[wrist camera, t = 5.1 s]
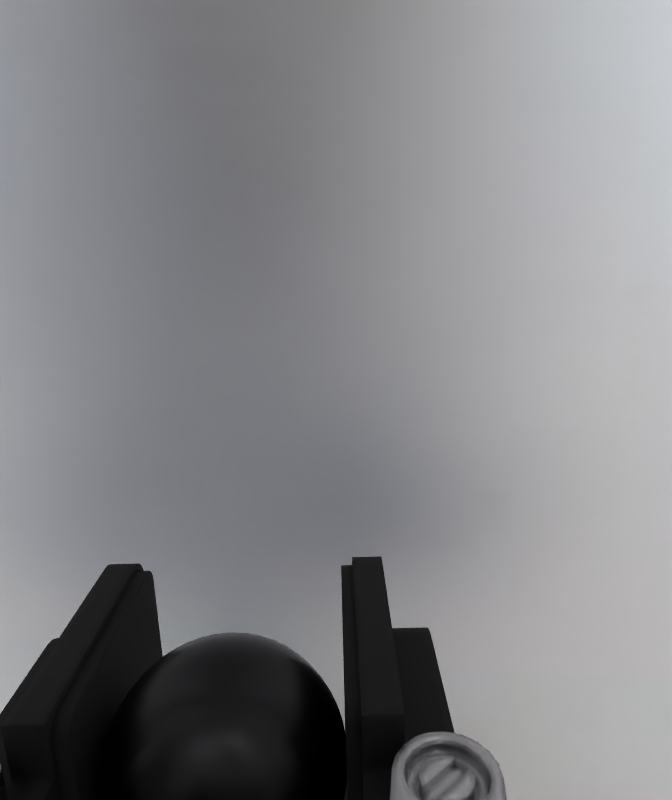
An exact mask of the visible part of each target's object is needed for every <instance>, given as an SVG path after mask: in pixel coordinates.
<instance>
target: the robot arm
mask: <svg viewBox="0 0 672 800" xmlns="http://www.w3.org/2000/svg"><path fill="white" fill-rule="evenodd" d="M341 576H342V616H343V656H344V695H345V732H346V765H347V799H348V800H507V799H506V792H505V785H504V778H503V775H502V772H501V769H500V766H499V764H498V762H497V761H496V760H495V758H494V757H493V756H492V754H491V753H490V752H489V751H488V750H487V749H486V748H484V747H483V746H482V745H480V744H479V743H478V742H477V741H474V740H472V739H470V738H468V737H466V736H463V735H461V734H455V733H454V729H453V725H452V721H451V717H450V713H449V709H448V704H447V700H446V696H445V692H444V688H443V684H442V679H441V675H440V671H439V667H438V663H437V659H436V655H435V650H434V646H433V642H432V638H431V634H430V631H429V629H428V628H392V625H391V618H390V612H389V605H388V598H387V591H386V584H385V578H384V571H383V564H382V558H381V557H352V565H343V566H341ZM161 658H162V648H161V640H160V631H159V623H158V614H157V606H156V597H155V589H154V580H153V575H152V572H151V571H143V568H142V566H141V565H140V564H110V565H108V566H107V567H106V568H105V569H104V571H103V572H102V574H101V575H100V577H99V578H98V580H97V581H96V583H95V585H94V586H93V588H92V589H91V591H90V592H89V594H88V595H87V597H86V598H85V600H84V601H83V603H82V604H81V606H80V607H79V609H78V610H77V612H76V613H75V615H74V616H73V618H72V619H71V621H70V622H69V624H68V625H67V627H66V628H65V630H64V631H63V633H62V634H61V636H60V637H59V638H56V639H53V640H52V641H51V642H50V643H49V644H48V645H47V646H46V648H45V649H44V651H43V652H42V654H41V655H40V657H39V658H38V660H37V661H36V662H35V664H34V665H33V667H32V668H31V670H30V671H29V673H28V674H27V676H26V677H25V679H24V680H23V682H22V683H21V685H20V686H19V687H18V689H17V690H16V692H15V693H14V695H13V696H12V698H11V699H10V701H9V702H8V704H7V705H6V707H5V708H4V709H3V711H2V712H1V714H0V800H99V787H98V785H99V773H100V761H101V756H102V751H103V747H104V743H105V740H106V737H107V734H108V731H109V728H110V725H111V723H112V721H113V719H114V716H115V714H116V712H117V710H118V708H119V706H120V704H121V703H122V701H123V700H124V698H125V697H126V695H127V693H128V692H129V691H130V689H131V688H132V687H133V686H134V684H135V683H136V682H137V681H138V680H139V678H140V677H141V676H142V675H143V674H144V673H145V672H146V671H147V670H148V669H149V668H150V667H151V666H152V665H153V664H154V663H155V662H157V661H158V660H159V659H161Z"/></svg>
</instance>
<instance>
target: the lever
mask: <svg viewBox="0 0 672 800" xmlns="http://www.w3.org/2000/svg"><path fill="white" fill-rule="evenodd" d="M346 785H347V765H346V734H345V730H344V725H343V720H342V717H341V714H340V711H339V709H338V706H337V703H336V701H335V699H334V697H333V695H332V693H331V691H330V690H329V688H328V687H327V685H326V684H325V682H324V681H323V679H322V678H321V676H320V675H319V674H318V673H317V672H316V671H315V669H314V668H313V667H312V666H311V665H310V664H309V663H308V662H307V661H306V660H305V659H304V658H302V657H301V656H300V655H299V654H298V653H296V652H295V651H293V650H292V649H290V648H288V647H287V646H285V645H283V644H281V643H279V642H277V641H275V640H272V639H269V638H266V637H263V636H259V635H254V634H248V633H222V634H214V635H209V636H205V637H201V638H198V639H195V640H193V641H190V642H188V643H185V644H183V645H182V646H180V647H178V648H176V649H174V650H172V651H171V652H169V653H168V654H166V655H165V656H164V657H162V658H161V659H159V660H158V661H157V662H155V663H154V664H153V665H152V666H151V667H150V668H149V669H148V670H147V671H146V672H145V673H144V674H143V675H142V676H141V677H140V678H139V680H138V681H137V682H136V683H135V684H134V686H133V687H132V688H131V689H130V691H129V692H128V693H127V695H126V697H125V698H124V700H123V701H122V703H121V704H120V706H119V708H118V710H117V712H116V714H115V716H114V719H113V721H112V723H111V725H110V728H109V731H108V734H107V737H106V740H105V743H104V747H103V751H102V756H101V761H100V773H99V785H98V787H99V800H344V798H345V791H346Z"/></svg>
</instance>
